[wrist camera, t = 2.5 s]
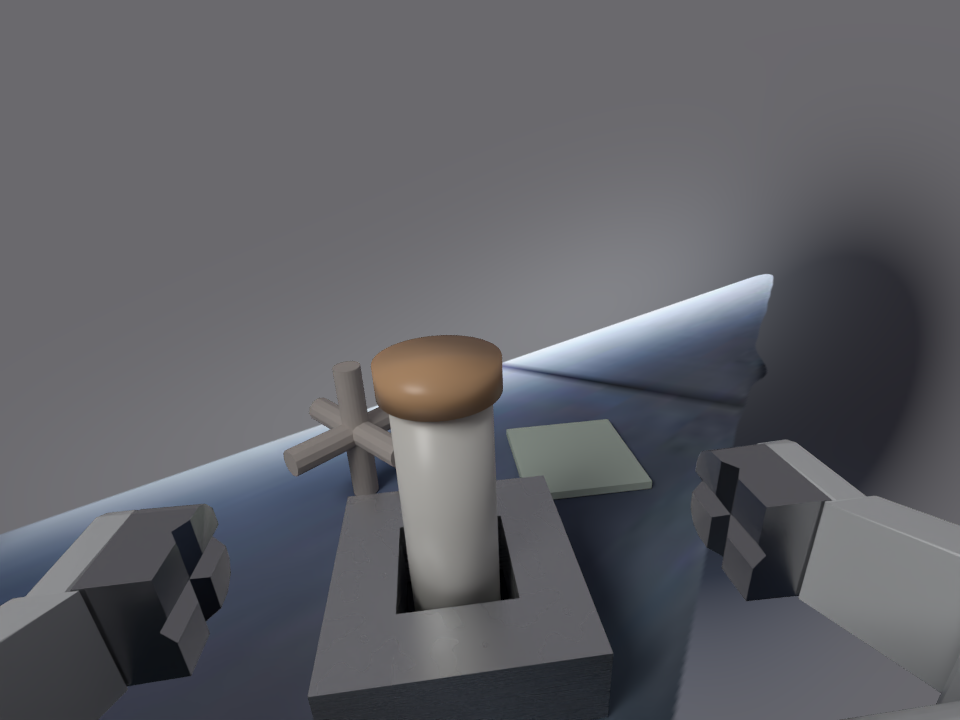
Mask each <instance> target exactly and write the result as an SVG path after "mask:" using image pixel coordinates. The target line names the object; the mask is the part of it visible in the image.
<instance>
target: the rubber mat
mask: <svg viewBox="0 0 960 720" xmlns="http://www.w3.org/2000/svg"><path fill="white" fill-rule="evenodd" d="M507 438H508V441H509V444H510V447H511V451H512V454H513V457H514V460H515V463H516V466H517V469H518V473H519V476H520V478H525V477H534V476H543V475H544V478H545V480H546V483H547V485H548V488H549V491H550V493H551V496H552V498H553V499H561V498H570V497H579V496H588V495H597V494H605V493H614V492H623V491H632V490H640V489H649V488H652V480H651V479H650V478H649V476H648V475H647V473H646V472H645V471H644V469H643V468H642V466H641V465H640V464H639V462H638V461H637V459H636V458H635V457H634V455H633V454H632V452H631V451H630V450H629V448H628V447H627V445H626V444H625V443H624V441H623V440H622V438H621V437H620V436H619V434H618V433H617V432H616V430H615V429H614V427H613V426H612V425H611V423H610V422H609V420H608V419H605V420H595V421H585V422H575V423H565V424H555V425H545V426H535V427H525V428H515V429H507Z"/></svg>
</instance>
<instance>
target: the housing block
mask: <svg viewBox="0 0 960 720" xmlns="http://www.w3.org/2000/svg"><path fill="white" fill-rule="evenodd" d="M496 494H497V519H498V545H499V570H503V574H504V579H505V583H506V588H507V593H508V598H509V600H501V601H494V602H486V603H479V604H471V605H463V606H456V607H448V608H441V609H433V610H425V611H418V612H410V613H407V582H409V581H411V577H410V570H409V562H408V555H407V547H406V540H405V532H404V525H403V517H402V510H401V502H400V495H399V491H397V492H387V493H378V494H369V495H360V496H351V497H348V500H347V505H346V509H345V514H344V519H343V524H342V529H341V534H340V539H339V544H338V549H337V554H336V559H335V564H334V569H333V574H332V579H331V584H330V589H329V594H328V599H327V604H326V609H325V614H324V619H323V624H322V629H321V633H320V638H319V643H318V648H317V653H316V658H315V663H314V668H313V673H312V678H311V683H310V688H309V693H308V700H309V704H310V708H311V711H312V715H313V719H314V720H592V719H598V718H605V717H608V709H609V697H610V686H611V674H612V663H613V651H612V649H611V646H610V644H609V641H608V638H607V636H606V633H605V631H604V628H603V626H602V623H601V621H600V618H599V616H598V613H597V610H596V608H595V605H594V603H593V600H592V598H591V595H590V593H589V590H588V587H587V585H586V582H585V580H584V577H583V575H582V572H581V570H580V567H579V565H578V562H577V559H576V557H575V554H574V552H573V549H572V547H571V544H570V542H569V539H568V536H567V534H566V531H565V529H564V526H563V524H562V521H561V519H560V516H559V514H558V511H557V508H556V506H555V503H554V501H553V498H552V496H551V493H550V491H549V488H548V485H547V483H546V480H545V478H544V475H543V476H534V477H525V478H515V479H506V480H497V481H496Z"/></svg>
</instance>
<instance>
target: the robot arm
mask: <svg viewBox="0 0 960 720" xmlns="http://www.w3.org/2000/svg"><path fill="white" fill-rule="evenodd" d="M695 471H696V473H697V474H698V476H699V477H700V478H701V480H702V482H701V483H700V484H699V485H698V486H697V488H696V489H695V490H694V491H693V492H692V500H691V513H692V518H693V523H694V526H695V528H696V531H697V533H698V535H699V537H700V538H701V540H702V541H703V543H704V544H705V545H706V547H707V548H709V549H711V550H712V551H714V552H716V553H718V554H720V555H721V556H723V562H722V569H723V570H724V572H725V573H726V575H727V576H728V577H729V579H730V580H731V581H732V583H733V584H734V585H735V587H736V588H737V590H738V591H739V592H740V594H741V595H742V596H743V598H744V599H745V600H746V601H752V600H762V599H771V598H781V597H790V596H799V599H800V600H802V601H803V602H805V603H806V604H808V605H809V606H811V607H813V608H814V609H815V610H817V611H818V612H820V613H821V614H823V615H824V616H826V617H827V618H829V619H831V620H832V621H833V622H835V623H836V624H838V625H839V626H841V627H842V628H844V629H845V630H847V631H848V632H850V633H851V634H853V635H854V636H856V637H857V638H859V639H860V640H862V641H863V642H865V643H866V644H868V645H870V646H871V647H872V648H874V649H876V650H877V651H879V652H880V653H882V654H883V655H885V656H886V657H888V658H889V659H891V660H892V661H894V662H895V663H897V664H898V665H900V666H901V667H903V668H904V669H906V670H907V671H909V672H910V673H912V674H913V675H915V676H916V677H918V678H919V679H921V680H922V681H924V682H925V683H927V684H928V685H930V686H932V687H933V688H934V689H936V690H937V691H939V692H940V693H941V695H940V697H939V699H938V701H937V703H936V705H930V706H924V707H918V708H911V709H905V710H899V711H892V712H886V713H880V714H873V715H867V716H861V717H855V718H848V719H842V720H960V526H958V525H956V524H953V523H950V522H947V521H945V520H942V519H939V518H936V517H934V516H931V515H928V514H925V513H923V512H920V511H917V510H914V509H911V508H909V507H906V506H903V505H900V504H897V503H895V502H892V501H889V500H886V499H884V498H881V497H878V496H869V497H866V496H865V495H864V494H862V493H861V492H860V491H858V490H857V489H856V488H854V487H853V486H852V485H851V484H849V483H848V482H847V481H845V480H844V479H843V478H841V477H840V476H839V475H838V474H836V473H835V472H834V471H832V470H831V469H830V468H828V467H827V466H826V465H825V464H823V463H822V462H821V461H819V460H818V459H817V458H815V457H814V456H813V455H811V454H810V453H809V452H808V451H806V450H805V449H803V448H802V447H801V446H800V445H798V444H797V443H796V442H792V441H789V440H780V441H772V442H765V443H759V444H757V445H749V446H740V447H731V448H723V449H714V450H706V451H702V452H701V453H700V455H699V457H698V459H697V464H696V470H695ZM217 526H218V521H217V519H216V516H215V513H214V511H213V508H212V507H210V506H208V505H206V504H198V505H186V506H175V507H163V508H152V509H141V510H131V511H121V512H112V513H106V514H104V515H101V516H99V517H96V519H95V520H94V521H93V522H92V523H91V524H90V525H89V526H88V527H87V529H86V530H85V531H84V532H83V533H82V534H81V535H80V536H79V538H78V539H77V540H76V541H75V542H74V543H73V544H72V545H71V546H70V548H69V549H68V550H67V551H66V552H65V553H64V554H63V555H62V556H61V558H60V559H59V560H58V561H57V562H56V563H55V564H54V565H53V566H52V568H51V569H50V570H49V571H48V572H47V573H46V574H45V575H44V576H43V578H42V579H41V580H40V581H39V582H38V583H37V584H36V585H35V587H34V588H33V589H32V590H31V591H30V592H29V593H28V594H27V595H26V597H21V598H14V599H11V600H10V601H8V602H6V603H4V604H3V605H1V606H0V720H98V719H99V718H100V717H101V716H102V715H103V714H104V713H105V712H106V711H107V710H108V709H109V708H110V707H111V706H112V705H113V704H114V703H115V702H116V701H117V700H118V699H119V698H120V697H121V696H122V695H123V694H124V693H125V692H126V691H127V690H128V688H127V686H132V685H138V684H145V683H151V682H157V681H163V680H169V679H175V678H181V677H187V676H191V675H192V673H193V671H194V668H195V666H196V664H197V662H198V659H199V657H200V655H201V653H202V650H203V648H204V646H205V644H206V641H207V639H208V637H209V635H210V633H209V630H208V627H207V624H206V621H207V620H208V619H209V618H210V617H211V616H212V615H214V614H215V613H216V612H217V611H218V610H219V609H221V607H222V605H223V602H224V600H225V597H226V595H227V592H228V587H229V580H230V574H231V571H230V560H229V555H228V552H227V549H226V546H225V545H223V544H222V543H221V542H219V541H218V540H217V539H215V538H214V537H212V536H213V534H214V532H215V530H216V528H217Z"/></svg>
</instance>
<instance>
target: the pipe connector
mask: <svg viewBox="0 0 960 720" xmlns="http://www.w3.org/2000/svg"><path fill="white" fill-rule="evenodd" d="M332 370H333V376H334V382H335V387H336V393H337V399H338V404H339V405H337V404H335V403H333V402H331V401H329V400H327V399H325V398H318V399H316V400H315V401H314V402H313V403H312V404H311V406H310V412H309V414H310V415H311V417H312V418H313V419H314V420H316V421H318V422H319V423H321V424H323V425H324V426H326V427H328V428H329V429H331V430H328V431H326V432H324V433H322V434H320V435H318V436H316V437H313V438H311V439H309V440H307V441H305V442H303V443H300V444H298V445H296V446H294V447H292V448H290V449H287V450H285V451H284V460H285V463H286V465H287V467H288V469H289V471H290V472H291V473H292V474H293V475H294V476H296V477H297V476H299V475H301V474H303V473H305V472H307V471H309V470H311V469H313V468H315V467H317V466H318V465H320V464H322V463H324V462H326V461H328V460H330V459H332V458H334V457H336V456H338V455H340V454H342V453H344V452H346V451H347V456H348V461H349V467H350V473H351V478H352V484H353V490H354V494H355V495H356V496H360V495H369V494H375V493H376V492H377V491H378V489H379V485H378V479H377V472H376V466H375V459H374V456H376V457H378V458H379V459H381V460H383V461H384V462H386V463H388V464H389V465H391V466H393V467H395V468H396V465H395V457H394V449H393V442H392V434H391V433H389V432H388V431H387V430H389V429H391V427H390V419H389V414H387V413H386V412H384V411H383V410H382V409H381V408H380V407H378V408H376V409H374V410H372V411H370V412H367V406H366V400H365V393H364V387H363V380H362V374H361V367H360V363H358V362H355V361H346V362H341V363H338V364H336V365H334V366H333V368H332Z"/></svg>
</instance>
